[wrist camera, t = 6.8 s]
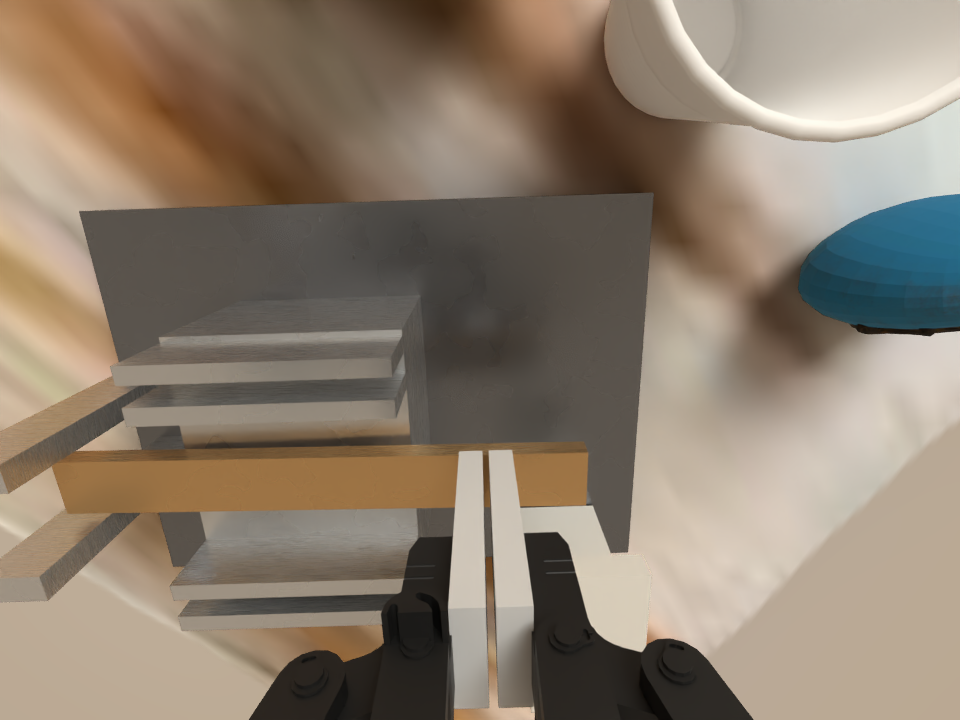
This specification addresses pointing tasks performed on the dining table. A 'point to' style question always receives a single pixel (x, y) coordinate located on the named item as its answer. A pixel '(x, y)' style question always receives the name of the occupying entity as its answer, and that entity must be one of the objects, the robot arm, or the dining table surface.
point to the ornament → (891, 270)
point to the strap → (308, 477)
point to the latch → (600, 574)
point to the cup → (787, 62)
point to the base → (345, 377)
